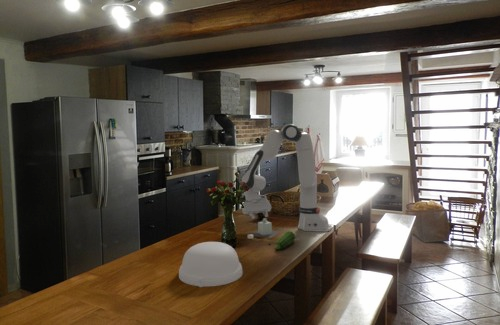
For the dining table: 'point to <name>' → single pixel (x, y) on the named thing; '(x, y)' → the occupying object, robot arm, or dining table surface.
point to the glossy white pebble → (250, 236)
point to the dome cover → (210, 265)
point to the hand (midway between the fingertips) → (260, 217)
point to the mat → (265, 235)
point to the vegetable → (285, 240)
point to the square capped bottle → (264, 227)
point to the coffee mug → (261, 215)
